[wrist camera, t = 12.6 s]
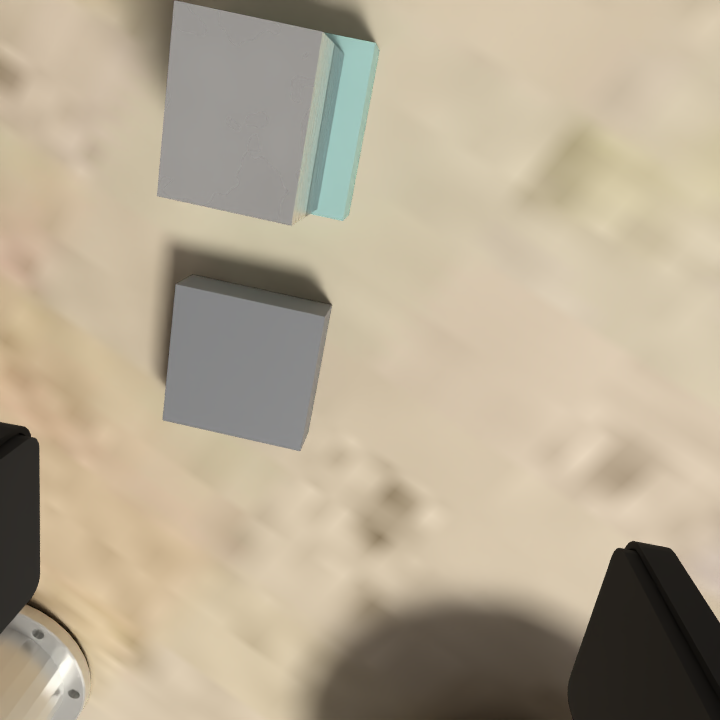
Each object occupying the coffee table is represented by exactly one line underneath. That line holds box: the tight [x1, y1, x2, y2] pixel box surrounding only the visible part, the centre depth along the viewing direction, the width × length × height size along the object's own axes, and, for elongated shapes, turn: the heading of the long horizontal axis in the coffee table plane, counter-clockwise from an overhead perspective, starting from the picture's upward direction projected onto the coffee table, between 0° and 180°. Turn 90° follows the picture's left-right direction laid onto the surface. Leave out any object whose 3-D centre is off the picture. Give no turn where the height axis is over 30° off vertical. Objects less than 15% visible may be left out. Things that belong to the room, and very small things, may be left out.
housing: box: [157, 0, 344, 226], centre depth 27 cm, size 7×6×6 cm
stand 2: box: [311, 32, 379, 221], centre depth 31 cm, size 8×8×2 cm
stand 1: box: [163, 275, 332, 451], centre depth 35 cm, size 8×8×2 cm
